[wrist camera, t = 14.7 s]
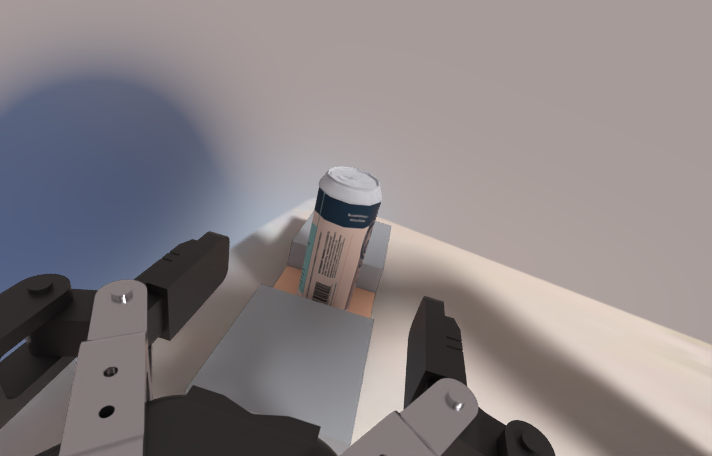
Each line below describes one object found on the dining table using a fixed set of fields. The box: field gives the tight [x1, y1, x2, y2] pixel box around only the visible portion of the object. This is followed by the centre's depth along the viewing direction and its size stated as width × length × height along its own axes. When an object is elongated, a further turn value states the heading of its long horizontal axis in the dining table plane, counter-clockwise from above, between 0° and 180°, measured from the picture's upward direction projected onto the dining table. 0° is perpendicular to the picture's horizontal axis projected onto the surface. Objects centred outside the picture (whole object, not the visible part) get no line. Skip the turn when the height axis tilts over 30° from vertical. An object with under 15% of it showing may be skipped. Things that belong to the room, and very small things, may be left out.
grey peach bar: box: [186, 211, 391, 456], centre depth 30 cm, size 9×26×4 cm, turn 170°
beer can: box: [296, 166, 382, 311], centre depth 28 cm, size 5×5×12 cm
